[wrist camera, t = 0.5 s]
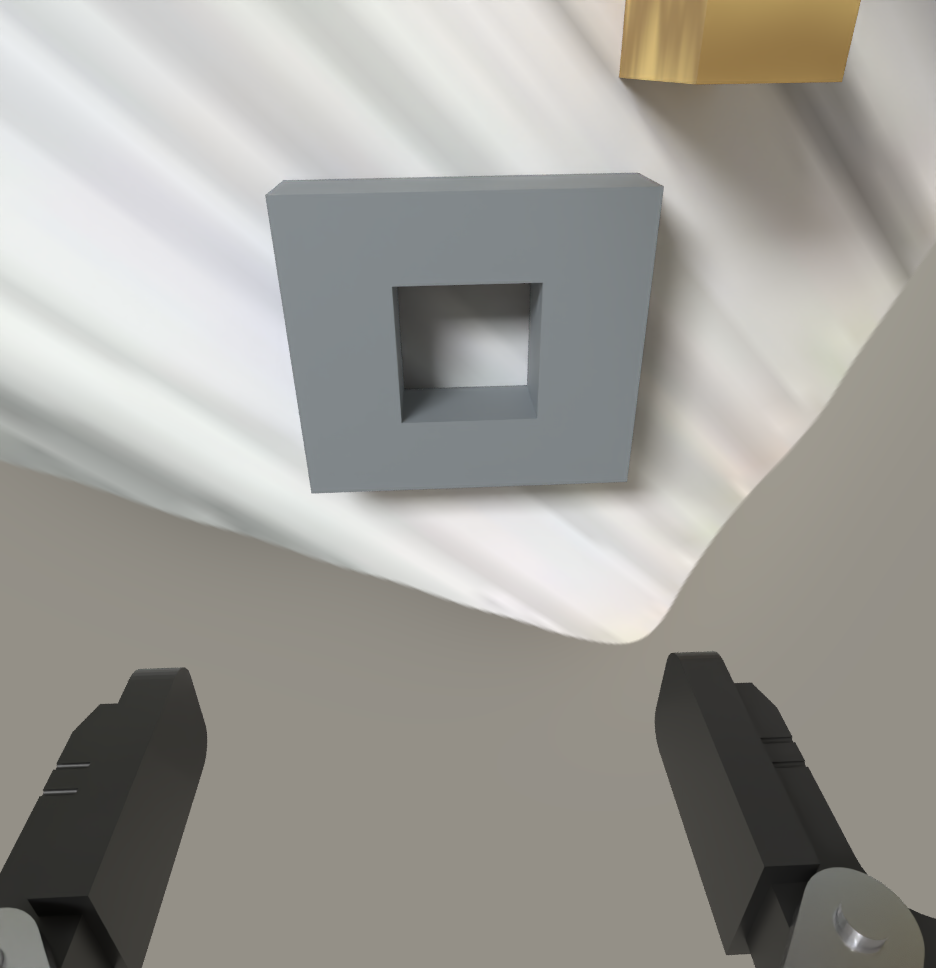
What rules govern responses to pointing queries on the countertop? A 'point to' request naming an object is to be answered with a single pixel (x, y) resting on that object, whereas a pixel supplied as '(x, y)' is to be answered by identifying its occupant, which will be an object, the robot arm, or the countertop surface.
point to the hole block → (465, 261)
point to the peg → (737, 40)
